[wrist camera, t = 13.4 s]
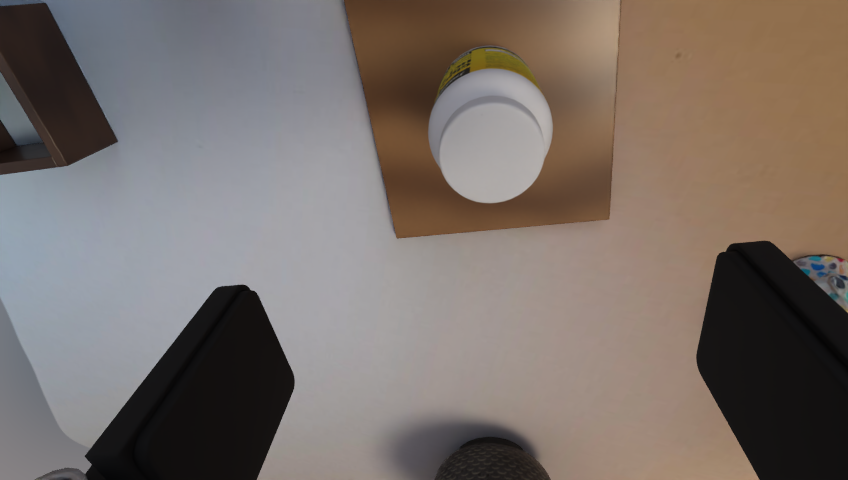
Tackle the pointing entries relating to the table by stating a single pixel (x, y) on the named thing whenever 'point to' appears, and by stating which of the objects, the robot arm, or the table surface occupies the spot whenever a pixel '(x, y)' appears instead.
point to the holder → (47, 93)
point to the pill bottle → (490, 125)
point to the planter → (491, 462)
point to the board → (554, 72)
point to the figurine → (828, 275)
